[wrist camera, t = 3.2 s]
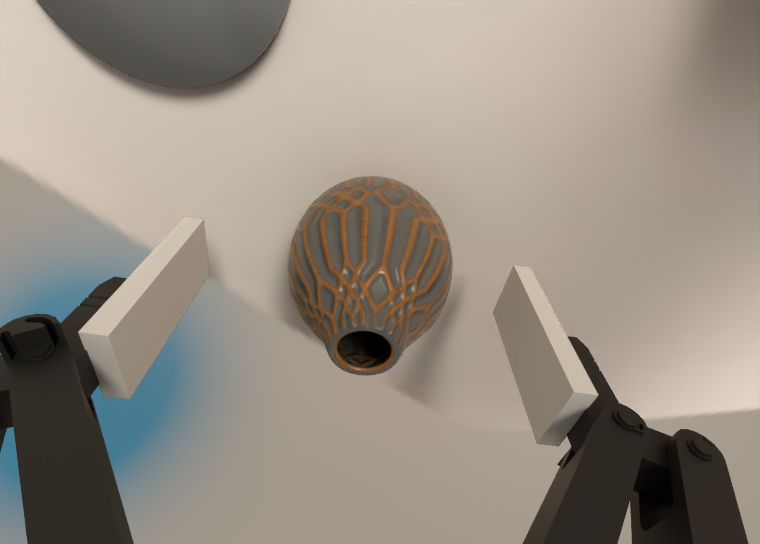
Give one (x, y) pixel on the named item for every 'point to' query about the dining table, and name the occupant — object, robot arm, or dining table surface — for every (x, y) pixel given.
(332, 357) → the vase
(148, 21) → the grey flat disc
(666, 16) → the dining table surface
